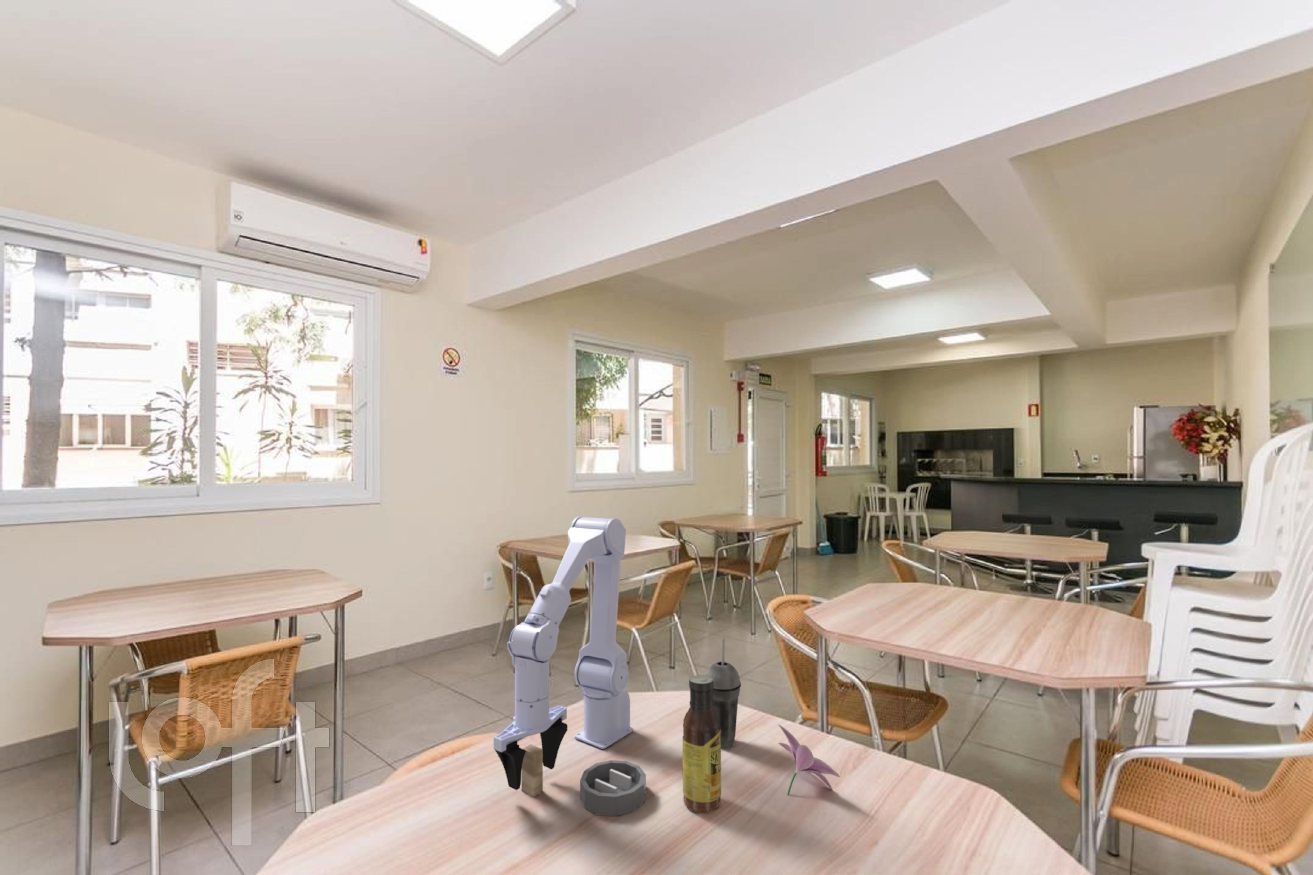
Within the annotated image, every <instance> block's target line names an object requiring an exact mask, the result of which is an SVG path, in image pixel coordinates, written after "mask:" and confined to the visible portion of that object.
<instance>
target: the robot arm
mask: <svg viewBox="0 0 1313 875" xmlns="http://www.w3.org/2000/svg"><path fill="white" fill-rule="evenodd" d="M626 530H627V529H626V528H625V526H624V525H623V523H622V521H621V520H620V519H619V518H616V517H615V518H601V517H587V516H586V517H585V516H579V515H578V516H576V517H575V518H574V519H573V520H572V522H571V525H570V528H569V529H568V531H567V543H568V544H567V545H568V546H567V548H566V551H565V553H564V555H563V557H562V559H561V562H560V564H559V566H558V569H557V571H556V573H555V575H554V578H553V579H552V582H551V583H548V584H544V586H542V587H541V590H540V592H539V593H538V595H537V597H536V599H535V601H534V602H533V605H532V606H531V608H530V609H529V612H528V613H527V615H526V617H525V619H524V621H522V622H520V623H519V624H518V625H516V626H515V627H514V628H513V629H512V630H511V632H510V635H509V639H508V642H507V643H506V645H507V652H508V653H509V655H510V656H511V666H513V667H514V716H513V717H512V723H511V724H509V725H508V726H507V727H506V728H505V729H503V730H502V731H501V732H499V733H498V734H497V735H494V736H493V750H494V751H495V753H496V754H497V756H498V758H499V760H500V762H501V764H502V767H503V770H504V773H505V776H506V780H507V785H508V787H510V788H511V789H513V790H515V791H517V790H519V789H520V788H521V786H522V763H523V759H524V755H525V753H526V750H524V749H522V747H520V744H518V742H519V741H521V740H523V739H525V738H528V737H531V736H534V735H537V734H538V735H539V736H540V740H541V741H540V742H541V749H543V767H544V768H545V767H546V768H547V769H549V770H553V769H554V768H555V765H556V760H557V758H558V753H559V749H560V747H561V744H562V742H563V739H564V737H565V735H566V734H567V732H568V724H567V723H566V722H563V721H565V720H567V717H568V714H567V713H568V710H567V709H568V708H567V707H565V706H562V705H560V704H559V705H557V706H554V707H551V708H550V658H551V657H552V656H553V654H554V653H555V651H556V649H557V645H558V636H559V633H560V628H559V627H560V625H561V622H562V620H563V618H564V616H565V614H566V613H567V610H568V608H569V606H570V604H571V603H572V597H571V594H570V591H571V589H572V587H573V586H574V584H575V583H576V581H577V579H578V578H579V576H580V575H581V573H582V571H583V569H584V567H586V565H587V562H588V561H589V560H590V559H591V560H592V561H593V562H594V574H593V575H594V578H593V591H592V603H591V604H592V605H591V606H592V607H591V619H590V634H589V642H588V643H587V644H585V645H584V646H582V647H581V648H580V649H579V651H578V658H577V662H576V664H575V668H574V680H575V683H576V685H577V686H579V687H580V693H583V730H581V731H579V732H578V733H576V734H574V736H573V737H574V739H576V740H579V741H581V742H583V743H586V744H589V745H591V746H594V747H596V748H599V749H602V750H604V749H607V748H608V747H609V746H611V745H613V744H615V743H616V742H618V741H620V740H621V739H623V738H625V737H626V736H628V735H629V734H631V733H632V732H634V727H632V726H631V697H630V694H629V692H628V690H627V688H626V686H627V685H628V682H629V677H630V674H629V672H630V671H629V668H628V654H627V652H626V651H625V650H624V649H623V648H622V647H621V646H620V645H619V644H618V642H617V641H616V640H617V638H616V636H617V627H618V626H617V623H618V612H619V611H618V608H619V597H620V596H619V592H620V579H621V578H620V577H621V576H620V575H621V563H622V561H621V560H622V559H624V558H625V550H626V534H627V533H626Z"/></svg>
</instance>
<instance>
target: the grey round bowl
mask: <svg viewBox="0 0 1313 875" xmlns="http://www.w3.org/2000/svg"><path fill="white" fill-rule="evenodd" d="M579 787H580V788H579V800H580V802H581V804H582V806H583V807H584V809H585V810H588V812H589V811H590V812H592V813H593V814H595V815H598V816H611V817H618V816H622V815H625V814H628V813H632V812H634V811H635V810H637V809H638V808H639V807H640V806H642V805H643V804H644V803H645V800H646V794H647V774H646V773H645V771H644V770H643V768H642V767H641V766H640V765H637V764H635V763H633V762H631V761H627V760H615V759H614V760H613V759H610V760H606V761H602V762H601V761H600V762H596V763H594V764H593V765H590V766H589V767H588V768H586V769H585V770H584V771H583V773H582V775H581V778H580V780H579Z"/></svg>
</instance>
